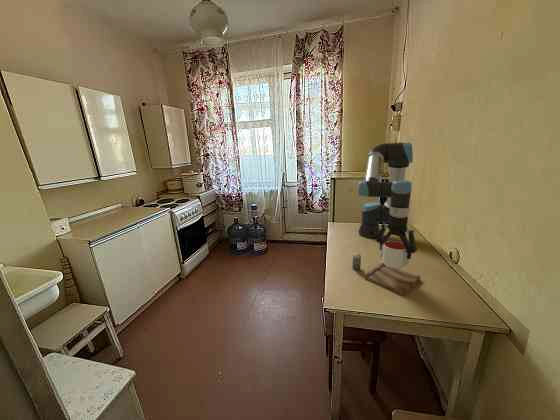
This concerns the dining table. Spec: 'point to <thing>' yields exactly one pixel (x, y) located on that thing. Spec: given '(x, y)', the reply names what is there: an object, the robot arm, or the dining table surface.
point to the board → (392, 278)
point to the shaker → (356, 261)
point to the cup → (393, 254)
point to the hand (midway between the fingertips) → (393, 260)
